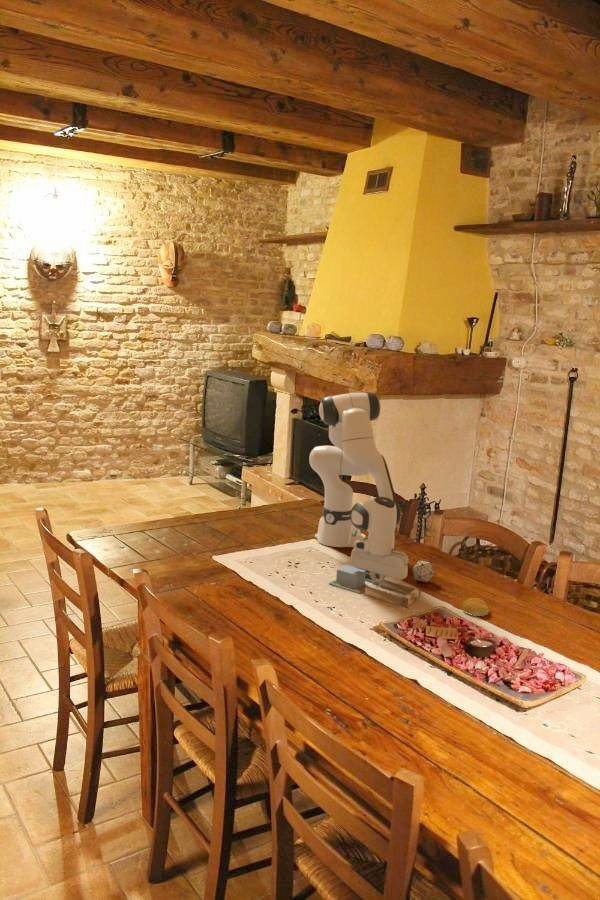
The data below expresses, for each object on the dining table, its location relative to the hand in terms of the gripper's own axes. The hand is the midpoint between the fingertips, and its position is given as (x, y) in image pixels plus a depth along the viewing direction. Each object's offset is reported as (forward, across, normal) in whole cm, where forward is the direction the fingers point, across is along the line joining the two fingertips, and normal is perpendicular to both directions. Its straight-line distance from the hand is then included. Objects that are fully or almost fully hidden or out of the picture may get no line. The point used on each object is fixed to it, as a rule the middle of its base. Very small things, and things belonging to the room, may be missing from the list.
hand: (376, 585), depth 248 cm
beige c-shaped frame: (+2, -6, 0) cm, 6 cm away
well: (+2, +9, -10) cm, 14 cm away
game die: (+2, -9, -18) cm, 20 cm away
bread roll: (+2, -32, -7) cm, 33 cm away
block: (+2, +10, 0) cm, 10 cm away
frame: (+2, +9, 0) cm, 9 cm away
